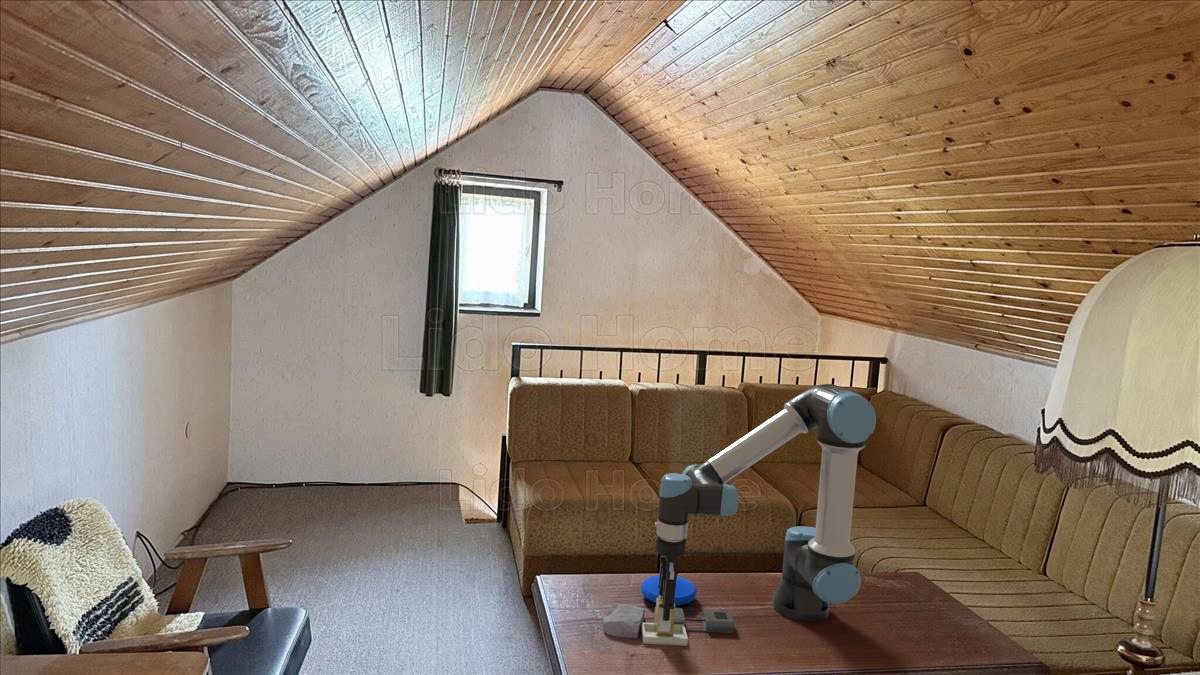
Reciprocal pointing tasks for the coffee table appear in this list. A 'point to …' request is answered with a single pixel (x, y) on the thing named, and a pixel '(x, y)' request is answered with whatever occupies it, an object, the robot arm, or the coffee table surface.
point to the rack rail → (708, 620)
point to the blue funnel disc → (682, 592)
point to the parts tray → (677, 638)
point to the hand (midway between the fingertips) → (663, 625)
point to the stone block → (623, 620)
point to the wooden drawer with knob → (657, 620)
